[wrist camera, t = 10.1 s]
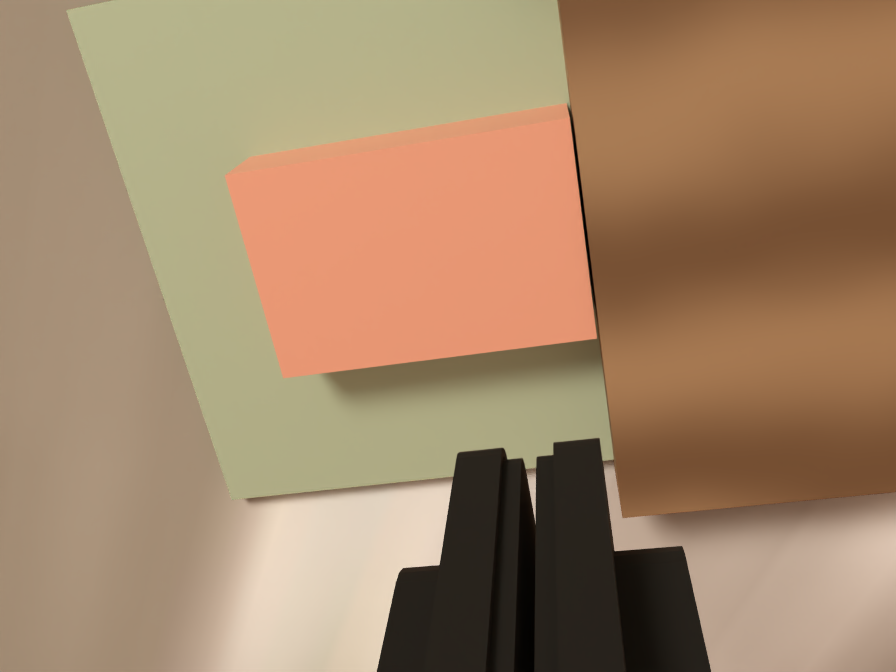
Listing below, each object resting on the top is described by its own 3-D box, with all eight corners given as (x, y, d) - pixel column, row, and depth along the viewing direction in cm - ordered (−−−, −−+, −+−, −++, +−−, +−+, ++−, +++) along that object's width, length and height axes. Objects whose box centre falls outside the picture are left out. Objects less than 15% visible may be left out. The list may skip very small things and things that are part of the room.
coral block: (249, 156, 24) (224, 175, 22) (566, 103, 23) (569, 117, 21) (301, 346, 27) (283, 378, 25) (591, 307, 25) (597, 338, 23)
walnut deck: (542, -110, 21) (544, -119, 19) (1018, -210, 20) (1095, -235, 17) (613, 462, 28) (622, 517, 25) (973, 424, 26) (1024, 479, 24)
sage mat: (77, 8, 24) (66, 9, 23) (545, -89, 22) (546, -89, 21) (237, 489, 30) (231, 499, 29) (612, 449, 28) (613, 459, 27)
